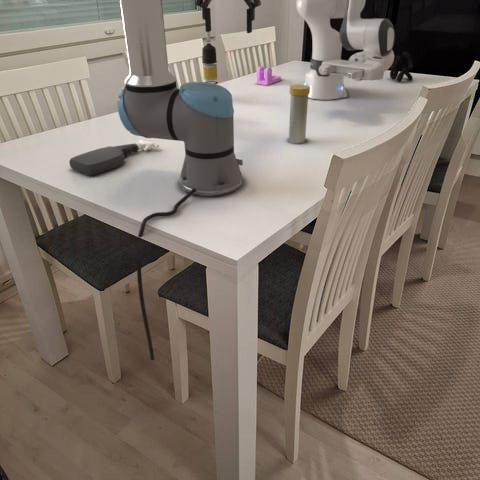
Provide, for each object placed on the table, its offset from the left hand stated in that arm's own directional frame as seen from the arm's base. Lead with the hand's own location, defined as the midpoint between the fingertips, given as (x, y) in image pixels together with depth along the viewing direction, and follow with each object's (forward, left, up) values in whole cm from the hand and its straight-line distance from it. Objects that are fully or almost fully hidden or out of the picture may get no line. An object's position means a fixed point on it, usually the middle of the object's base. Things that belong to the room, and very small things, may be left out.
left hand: (228, 32), depth 139 cm
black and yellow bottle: (+25, +18, -28) cm, 42 cm away
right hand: (+7, -34, -12) cm, 36 cm away
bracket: (+60, +4, -28) cm, 66 cm away
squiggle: (+78, -52, -28) cm, 98 cm away
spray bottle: (-43, +18, -28) cm, 54 cm away
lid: (-13, -26, -12) cm, 32 cm away
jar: (-13, -26, -28) cm, 40 cm away
